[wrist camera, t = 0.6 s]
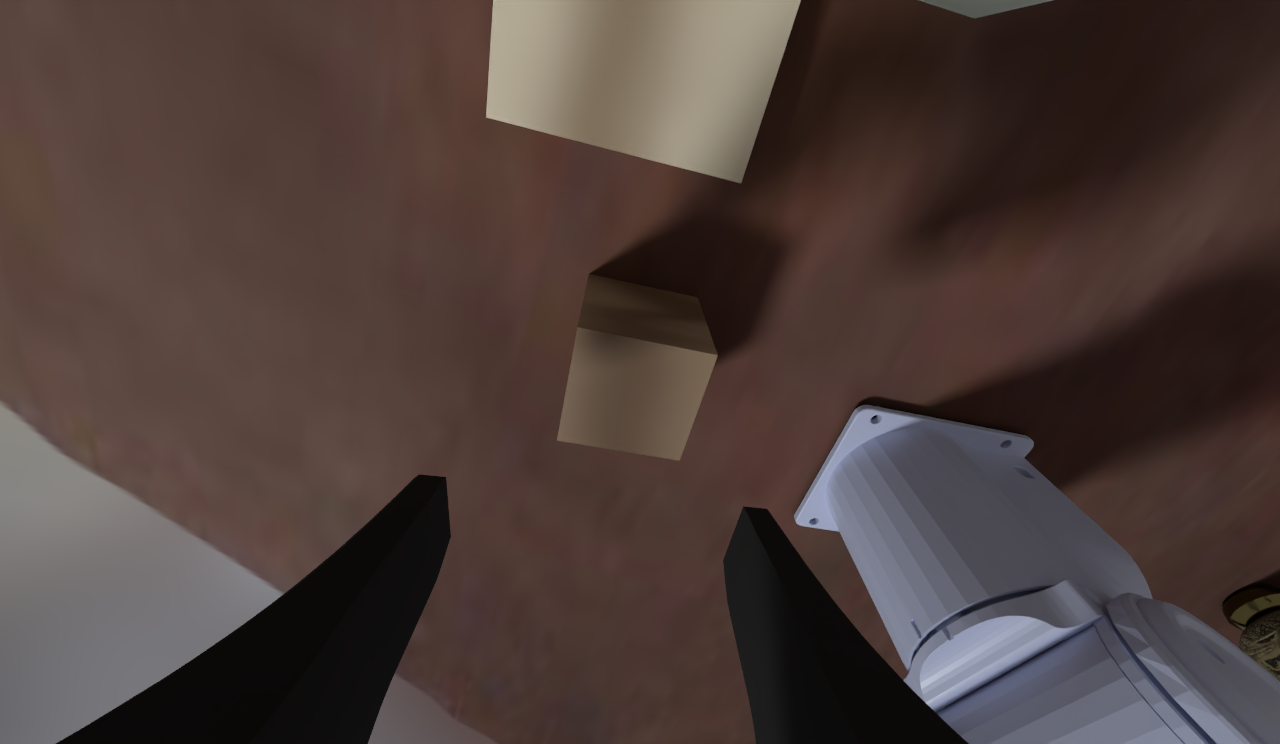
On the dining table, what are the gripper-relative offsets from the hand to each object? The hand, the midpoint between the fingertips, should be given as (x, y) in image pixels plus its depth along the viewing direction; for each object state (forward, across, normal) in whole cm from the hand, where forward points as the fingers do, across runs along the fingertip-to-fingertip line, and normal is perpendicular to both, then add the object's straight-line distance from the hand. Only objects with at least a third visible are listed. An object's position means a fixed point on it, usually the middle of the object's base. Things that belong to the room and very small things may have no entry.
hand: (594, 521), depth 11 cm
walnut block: (+10, -1, 0) cm, 10 cm away
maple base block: (+10, 0, -12) cm, 15 cm away
